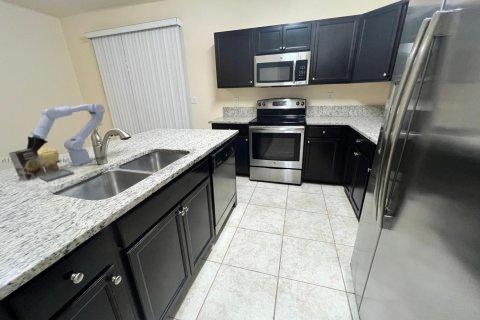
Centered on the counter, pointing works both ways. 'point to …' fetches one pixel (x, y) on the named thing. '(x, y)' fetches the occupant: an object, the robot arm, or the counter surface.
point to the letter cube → (51, 167)
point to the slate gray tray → (56, 175)
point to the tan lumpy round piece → (48, 155)
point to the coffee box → (27, 164)
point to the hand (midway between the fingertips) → (31, 150)
